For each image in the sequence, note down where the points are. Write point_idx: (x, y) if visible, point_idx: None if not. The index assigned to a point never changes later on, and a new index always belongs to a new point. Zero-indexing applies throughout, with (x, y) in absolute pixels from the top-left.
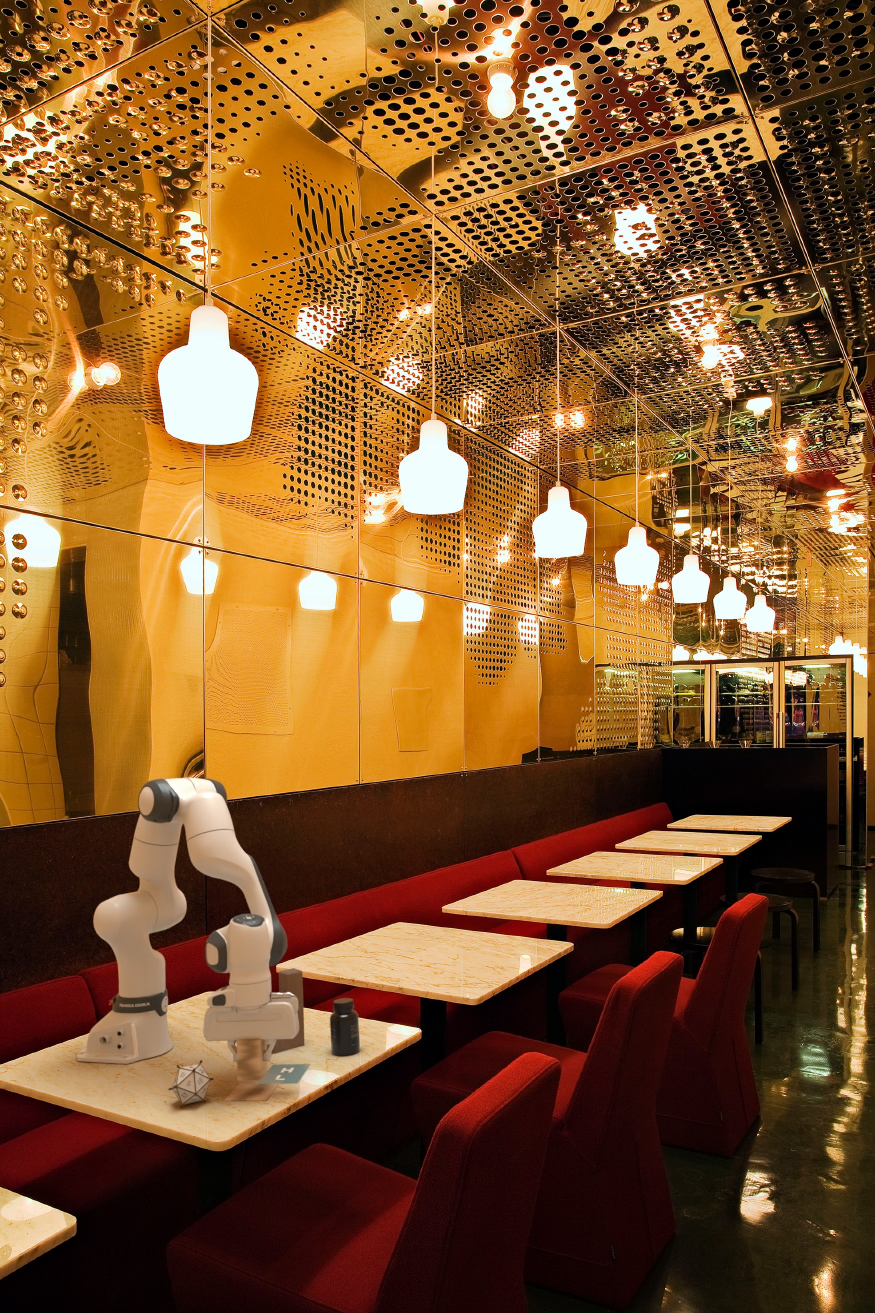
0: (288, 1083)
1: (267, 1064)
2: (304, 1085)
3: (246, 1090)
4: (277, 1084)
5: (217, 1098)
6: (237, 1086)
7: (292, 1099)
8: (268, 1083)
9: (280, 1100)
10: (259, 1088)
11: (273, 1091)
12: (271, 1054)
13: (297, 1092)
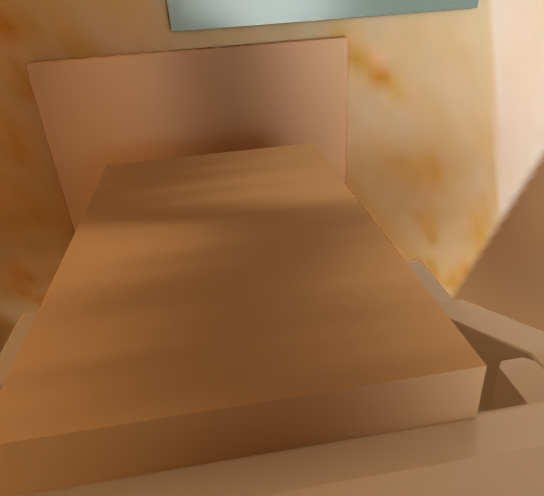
0: (412, 12)
1: (328, 163)
2: (520, 19)
3: None
4: (342, 57)
5: (14, 270)
6: (47, 115)
7: (466, 240)
8: (259, 16)
9: (406, 258)
10: (237, 143)
11: (345, 175)
12: (433, 277)
13: (484, 144)
